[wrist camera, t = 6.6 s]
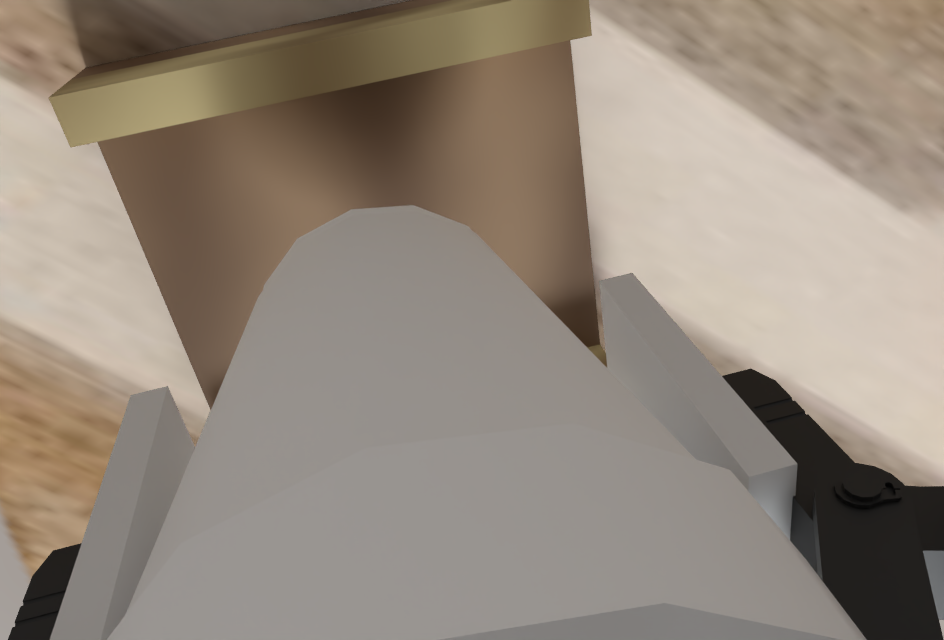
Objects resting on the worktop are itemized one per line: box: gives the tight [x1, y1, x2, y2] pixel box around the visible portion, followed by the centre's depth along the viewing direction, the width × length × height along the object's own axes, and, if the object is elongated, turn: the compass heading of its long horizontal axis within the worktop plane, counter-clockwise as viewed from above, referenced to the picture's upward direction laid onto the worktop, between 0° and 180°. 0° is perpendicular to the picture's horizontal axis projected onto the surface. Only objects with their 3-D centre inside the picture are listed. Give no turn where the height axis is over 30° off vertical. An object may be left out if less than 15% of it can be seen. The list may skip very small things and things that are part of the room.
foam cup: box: [107, 205, 867, 640], centre depth 14 cm, size 10×9×13 cm
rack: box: [49, 0, 607, 410], centre depth 26 cm, size 13×25×4 cm, turn 10°
